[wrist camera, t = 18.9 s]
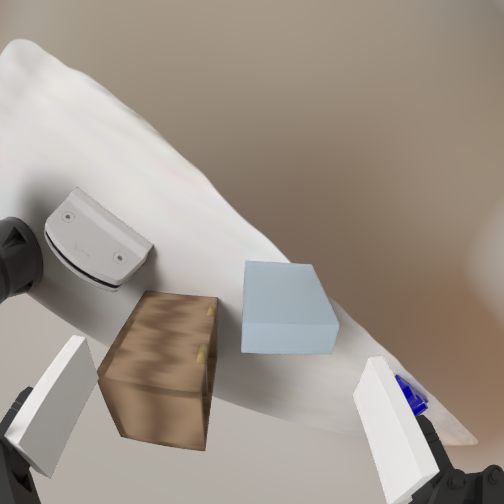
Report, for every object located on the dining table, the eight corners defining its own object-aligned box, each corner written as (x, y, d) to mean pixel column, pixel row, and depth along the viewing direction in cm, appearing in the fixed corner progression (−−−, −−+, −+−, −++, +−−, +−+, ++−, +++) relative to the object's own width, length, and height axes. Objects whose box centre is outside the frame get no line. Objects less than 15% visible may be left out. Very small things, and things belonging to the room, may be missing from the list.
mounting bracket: (425, 396, 58) (434, 412, 52) (404, 413, 59) (411, 429, 54) (396, 373, 53) (406, 391, 48) (371, 392, 55) (379, 411, 50)
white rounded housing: (155, 245, 42) (122, 290, 34) (145, 263, 45) (114, 306, 37) (75, 185, 38) (33, 217, 31) (70, 205, 41) (32, 238, 33)
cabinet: (153, 351, 49) (120, 436, 31) (145, 288, 45) (93, 371, 26) (217, 358, 50) (205, 451, 31) (217, 294, 45) (199, 389, 26)
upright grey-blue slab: (243, 289, 45) (240, 357, 30) (245, 260, 43) (243, 322, 28) (307, 292, 45) (330, 359, 30) (311, 264, 43) (339, 324, 28)
